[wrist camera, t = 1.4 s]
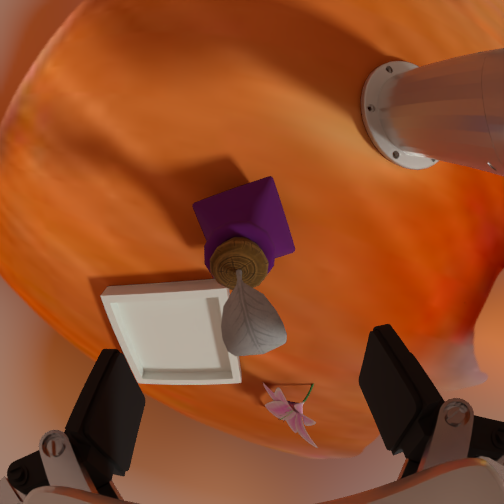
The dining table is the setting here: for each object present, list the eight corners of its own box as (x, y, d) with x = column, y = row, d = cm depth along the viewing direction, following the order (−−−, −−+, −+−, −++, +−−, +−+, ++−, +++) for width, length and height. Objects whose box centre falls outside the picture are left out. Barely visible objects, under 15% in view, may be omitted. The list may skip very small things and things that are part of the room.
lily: (282, 347, 36) (252, 404, 29) (355, 380, 34) (337, 439, 26) (261, 380, 44) (236, 425, 36) (321, 407, 41) (302, 453, 34)
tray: (227, 277, 30) (226, 288, 28) (241, 370, 36) (241, 382, 34) (107, 286, 30) (100, 295, 28) (142, 372, 36) (138, 383, 34)
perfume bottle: (196, 196, 27) (132, 286, 10) (268, 171, 26) (319, 224, 9) (223, 261, 29) (208, 401, 13) (290, 239, 29) (348, 363, 12)
